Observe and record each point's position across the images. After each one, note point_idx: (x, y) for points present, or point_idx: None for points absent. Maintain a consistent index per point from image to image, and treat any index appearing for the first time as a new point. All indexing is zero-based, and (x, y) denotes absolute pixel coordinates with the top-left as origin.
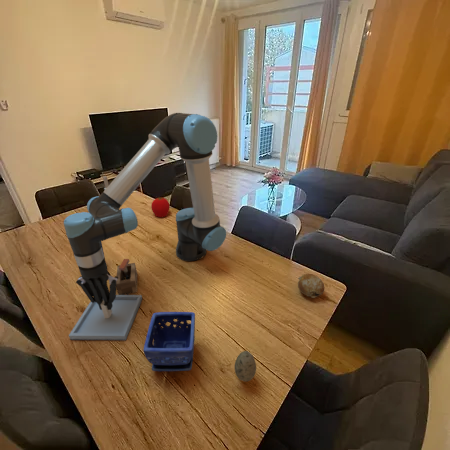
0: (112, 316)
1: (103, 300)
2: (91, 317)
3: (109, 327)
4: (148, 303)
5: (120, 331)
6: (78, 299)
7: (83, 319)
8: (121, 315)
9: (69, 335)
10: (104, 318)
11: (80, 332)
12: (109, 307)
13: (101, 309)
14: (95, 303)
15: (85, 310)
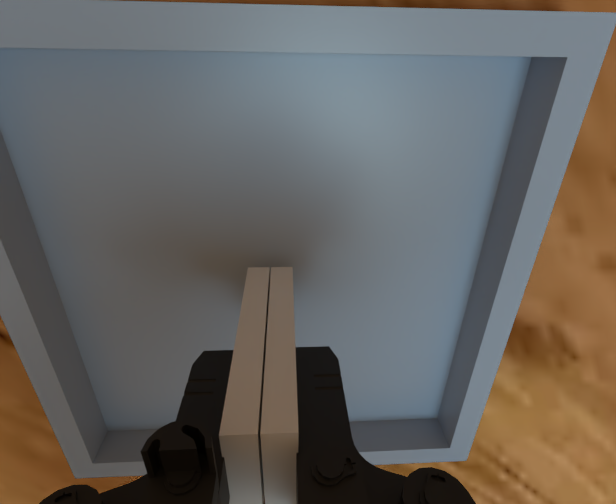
0: (243, 288)
1: (288, 488)
2: (430, 275)
3: (208, 171)
4: (22, 406)
5: (56, 120)
6: (575, 411)
7: (495, 248)
8: (164, 300)
9: (608, 14)
10: (308, 268)
11: (484, 106)
12: (202, 380)
13: (317, 350)
14: (441, 391)
15: (503, 334)
